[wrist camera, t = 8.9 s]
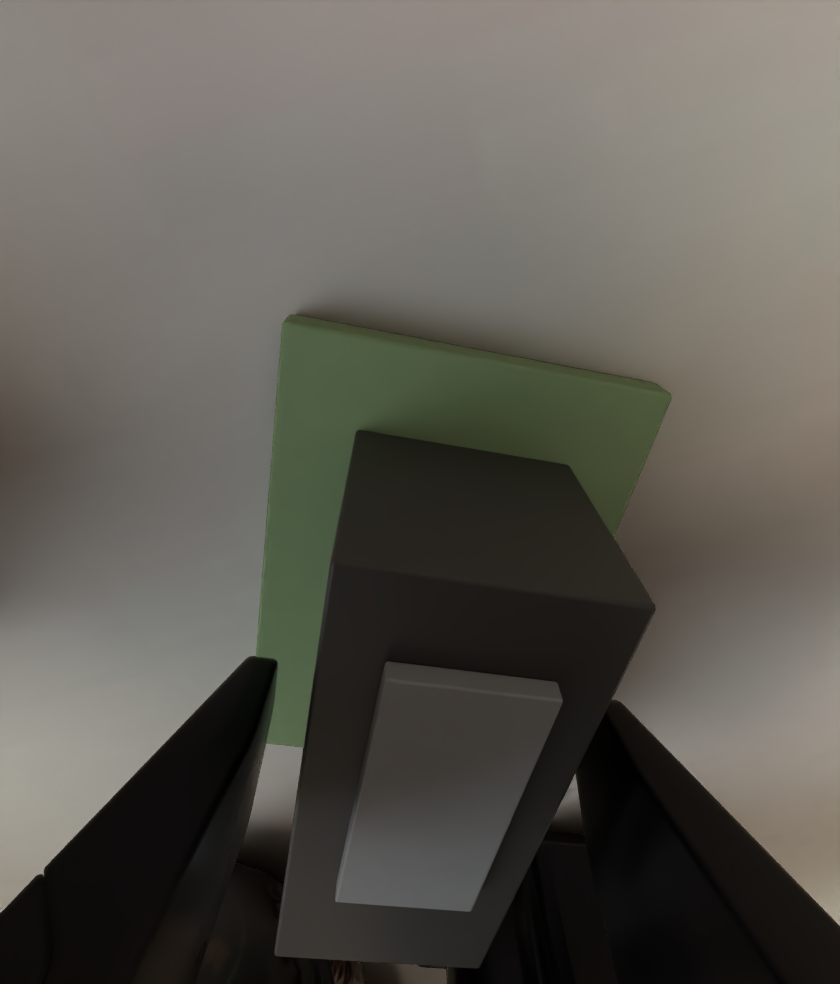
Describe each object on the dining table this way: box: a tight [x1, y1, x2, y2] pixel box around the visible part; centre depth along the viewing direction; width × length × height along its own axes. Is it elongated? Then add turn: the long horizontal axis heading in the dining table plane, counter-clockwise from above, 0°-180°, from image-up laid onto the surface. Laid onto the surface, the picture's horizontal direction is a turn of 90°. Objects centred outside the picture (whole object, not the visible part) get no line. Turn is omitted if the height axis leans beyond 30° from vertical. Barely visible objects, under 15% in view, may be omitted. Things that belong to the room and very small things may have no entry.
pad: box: [256, 314, 672, 747], centre depth 11 cm, size 9×6×1 cm, turn 169°
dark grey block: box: [274, 430, 655, 968], centre depth 9 cm, size 8×4×4 cm, turn 169°
